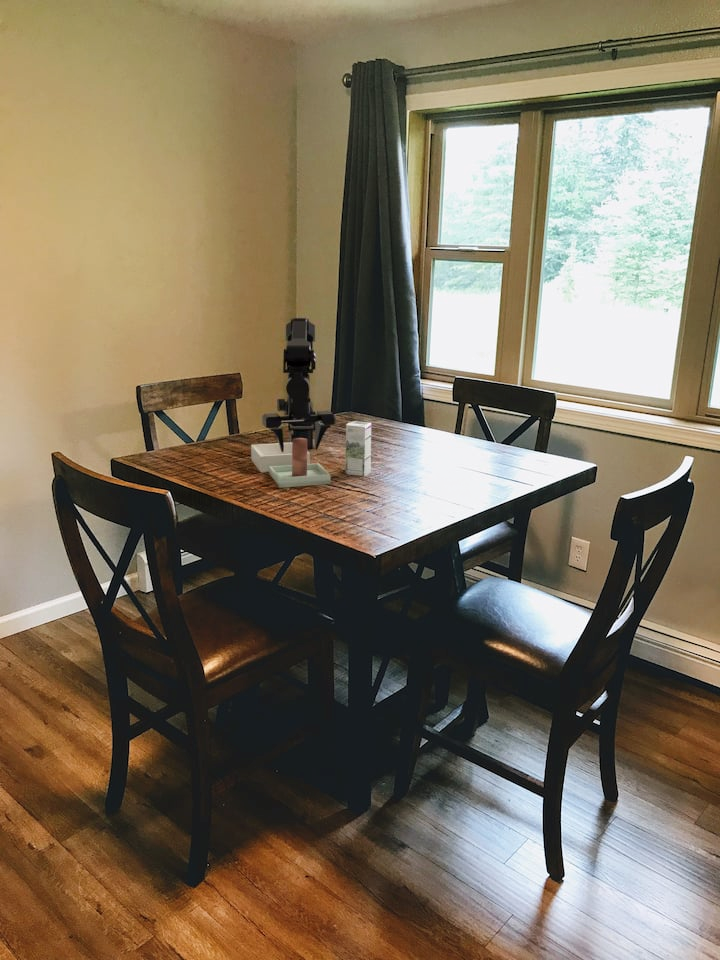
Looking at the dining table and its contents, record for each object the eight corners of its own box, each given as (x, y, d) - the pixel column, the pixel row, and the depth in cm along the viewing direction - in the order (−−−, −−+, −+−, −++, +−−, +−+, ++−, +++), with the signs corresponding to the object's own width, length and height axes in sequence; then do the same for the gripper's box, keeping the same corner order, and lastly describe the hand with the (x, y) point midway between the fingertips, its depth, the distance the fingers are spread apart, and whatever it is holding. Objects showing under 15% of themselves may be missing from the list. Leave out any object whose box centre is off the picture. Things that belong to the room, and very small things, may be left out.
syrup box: (371, 472, 214) (372, 421, 210) (364, 477, 208) (365, 426, 204) (351, 470, 215) (352, 420, 211) (344, 475, 210) (345, 424, 206)
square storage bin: (298, 458, 227) (297, 441, 226) (309, 470, 215) (309, 453, 213) (251, 461, 223) (251, 444, 222) (260, 474, 210) (260, 456, 209)
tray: (318, 471, 213) (318, 463, 213) (330, 483, 202) (330, 474, 202) (269, 475, 209) (269, 466, 208) (278, 487, 198) (278, 478, 197)
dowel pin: (304, 473, 208) (305, 437, 205) (308, 477, 204) (309, 440, 202) (290, 474, 207) (290, 438, 204) (294, 478, 203) (294, 441, 200)
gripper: (324, 386, 209) (324, 441, 214) (257, 389, 204) (258, 445, 208) (336, 393, 199) (335, 451, 204) (265, 396, 193) (267, 455, 198)
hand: (299, 450), depth 203 cm, fingers open, 9 cm apart
